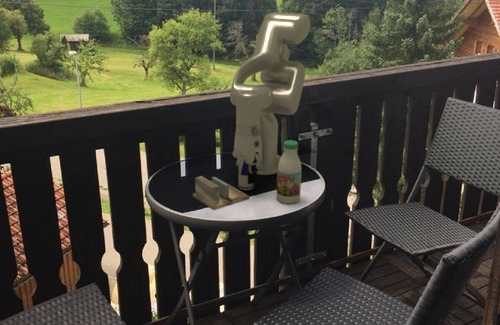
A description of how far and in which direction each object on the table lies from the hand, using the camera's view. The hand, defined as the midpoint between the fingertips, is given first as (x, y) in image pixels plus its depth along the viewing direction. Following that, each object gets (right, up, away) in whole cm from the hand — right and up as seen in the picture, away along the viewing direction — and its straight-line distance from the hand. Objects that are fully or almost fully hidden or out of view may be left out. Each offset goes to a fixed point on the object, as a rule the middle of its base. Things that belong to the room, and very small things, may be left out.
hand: (246, 179), depth 184 cm
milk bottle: (+14, -7, -5) cm, 16 cm away
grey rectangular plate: (-8, -5, -6) cm, 11 cm away
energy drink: (0, -3, +1) cm, 3 cm away
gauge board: (-9, -6, -5) cm, 12 cm away
